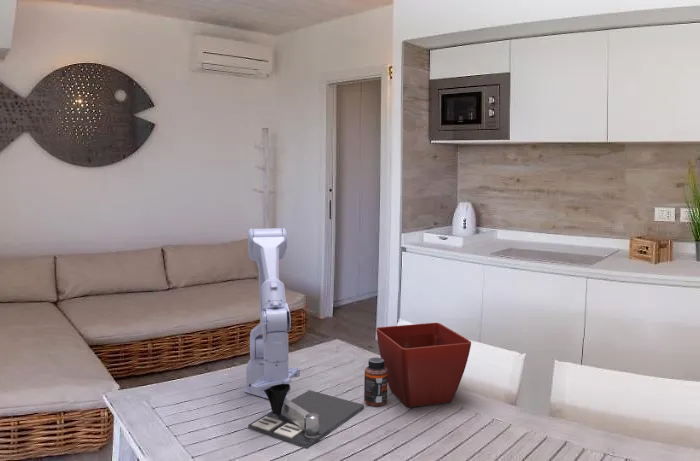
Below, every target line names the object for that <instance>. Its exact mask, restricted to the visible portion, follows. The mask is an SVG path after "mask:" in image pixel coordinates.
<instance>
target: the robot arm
mask: <svg viewBox="0 0 700 461" xmlns="http://www.w3.org/2000/svg"><path fill="white" fill-rule="evenodd" d="M247 248H248V257H249V260H250V261H254V262H256V266H257V270H258V290H259V293H258V295H259V323H258V324H257V325H256V326H254V327H253V328H252V329H251V330H250V333H249V355H250V359H249V360H248V362H247V364H246V370H245V371H246V372H245V373H246V375H245V376H246V379H245V380H246V389H245V390H244V392H245V393H247V394H250V395H253V396H257V397H260V398H265V399H267V400H268V402H269V404H270V407H271V411H272V413H273V414H276V415H281V411H282V406H283V403H284V400H285V398H287V395H288V393H289V391H290V390H291V384H290V383H292V379H293V378H298V377H300V376H301V369H300V368H298V367H295V366H292V367H289V333H290V331H291V325H292V324H291V321H292V320H291V312H290V309H289V308H290V307H289V304H288V303H287V298H286V297H287V296H286V288H285V284H284V282H283V281H282V280H280V260H282V259H284V257H285V255H286V251H287V248H288V233H287V229H286V228H285V227H279V228H278V227H277V228H251V227H250V228H249V230H248V231H247Z"/></svg>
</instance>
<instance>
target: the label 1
mask: <svg viewBox="0 0 700 461" xmlns="http://www.w3.org/2000/svg"><path fill="white" fill-rule="evenodd" d="M281 423H283V421H280V420H277V419H274V418H270V417H267V416H265V417H264V418H262V419H260V420H258V421H257V422H255V423H253V424H252V426H255V427H258V428H261V429H264V430H267V431H269V430H271V429H273V428H274V427H276V426H278V425H279V424H281Z"/></svg>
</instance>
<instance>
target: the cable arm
mask: <svg viewBox="0 0 700 461" xmlns="http://www.w3.org/2000/svg"><path fill="white" fill-rule="evenodd" d="M281 414H282V415H284V416H285V417H287V418H288V419H290V420H291V421H292V422H294V423H295V424H297V425H298V426H300V427H301V428H303V429H306V415H307V414H309V412H307V411H306V410H304V409H302V408H301V407H299V406H298V405H296V404H294V403H293V402H291V399H290V400H289V399H288V398H287V397H285V400H284V403H283V406H282V411H281Z"/></svg>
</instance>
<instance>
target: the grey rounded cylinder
mask: <svg viewBox="0 0 700 461" xmlns="http://www.w3.org/2000/svg"><path fill="white" fill-rule="evenodd" d="M320 436H321V432H320V431H319V414H316V413H309V414H307V415H306V431H305V432H304V437H305V438H308V439H317V438H319V437H320Z"/></svg>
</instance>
